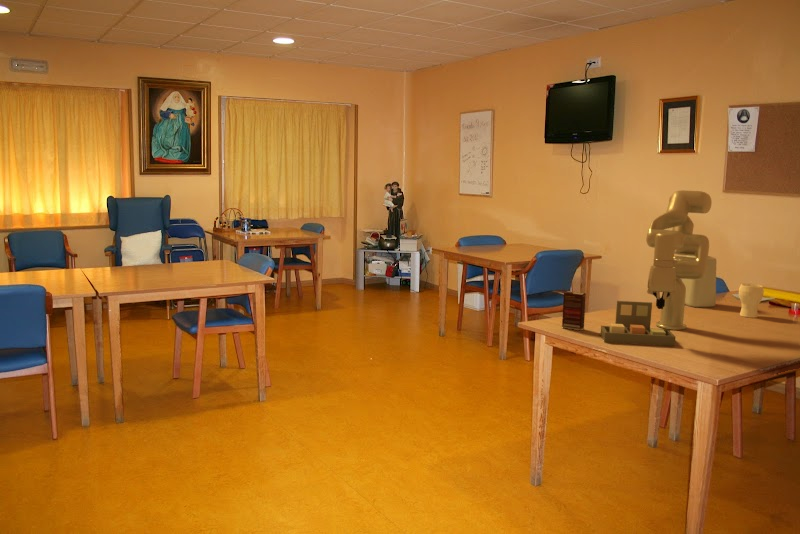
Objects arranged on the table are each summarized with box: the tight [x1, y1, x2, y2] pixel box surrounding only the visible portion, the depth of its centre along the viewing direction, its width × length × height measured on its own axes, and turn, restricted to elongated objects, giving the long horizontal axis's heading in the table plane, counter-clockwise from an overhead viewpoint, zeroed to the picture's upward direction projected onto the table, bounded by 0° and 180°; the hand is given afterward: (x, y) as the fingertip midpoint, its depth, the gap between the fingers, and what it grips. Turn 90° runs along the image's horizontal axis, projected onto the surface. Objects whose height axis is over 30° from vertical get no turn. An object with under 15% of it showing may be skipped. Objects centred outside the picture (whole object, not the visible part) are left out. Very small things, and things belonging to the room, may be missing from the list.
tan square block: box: [609, 322, 625, 333], centre depth 284 cm, size 5×5×3 cm
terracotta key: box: [630, 325, 645, 334], centre depth 283 cm, size 5×5×3 cm
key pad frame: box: [600, 325, 676, 347], centre depth 283 cm, size 12×27×4 cm, turn 81°
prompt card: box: [614, 300, 653, 329], centre depth 292 cm, size 2×14×14 cm, turn 82°
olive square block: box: [650, 328, 666, 335], centre depth 282 cm, size 5×5×3 cm
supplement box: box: [561, 290, 587, 332], centre depth 300 cm, size 9×5×16 cm, turn 59°
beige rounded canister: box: [681, 255, 717, 308], centre depth 358 cm, size 15×15×28 cm
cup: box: [738, 283, 765, 319], centre depth 334 cm, size 11×11×15 cm
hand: (660, 308), depth 281 cm, fingers closed
